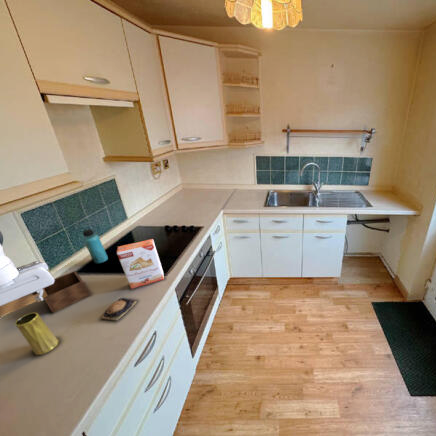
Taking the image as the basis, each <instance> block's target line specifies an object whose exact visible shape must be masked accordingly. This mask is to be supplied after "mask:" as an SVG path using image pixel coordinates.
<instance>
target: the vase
mask: <svg viewBox="0 0 436 436" xmlns="http://www.w3.org/2000/svg"><path fill="white" fill-rule="evenodd" d="M14 325H15V327H16V328H17V329H18V330H19V332H20V333H21V335H22V336H23V337H24V339H25V340H26V342H27V344H28V345H29V346H30V348H31V349H32V351H33V352H34V355H36V356H40V355H41V356H42V355H45V354H47V353H49V352H51V351H52V350H53V349H55V348H56V347H57V346H58V344H59V339H58V338H57V337H56V335H55V334H54V333H53V332H52V331H51V330H50V328H49V327H48V326H47V325H46V323H45V322H44V320H43V319H42V317H41V316H40V314H39V313H38V312H29V313H26V314H24V315H22V316H20V317H19V318H18V319H17V320H16V321H15V322H14Z"/></svg>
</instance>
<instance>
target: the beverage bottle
mask: <svg viewBox="0 0 436 436" xmlns="http://www.w3.org/2000/svg"><path fill="white" fill-rule="evenodd" d="M82 234H83V236H84V239H83V242H84V244H85V247H86V250H87V251H88V253H89V254H90V257H91V260H92V261H93V263H94V264H102V263H104V262H106V261H108V260H109V257H108V254H107V252H106V250H105V247H104V246H103V244H102V241H101V239H100V236H99V235H98V234H95V232H94V230H93V229H87V230H84V231H83V232H82Z"/></svg>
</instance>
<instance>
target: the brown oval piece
mask: <svg viewBox="0 0 436 436" xmlns="http://www.w3.org/2000/svg"><path fill="white" fill-rule="evenodd" d="M136 303H137V301H136V300H135V299H134V300H132V299H131V298H129V299H128V298H124V297H121V298H119V299H118V300H117V301H115V302H113V303H111V304H110V305H109V307H108V308H107V309H106V310H105V311H104V313H103V314H102V316H101V319H102V320H108V321H114V322H115V321H117V322H118V320H120V319H121V318H122V317H123V316H124V315H126V314H127V313H128V312H129V311H130V309H132V308H133V306H134V305H136Z"/></svg>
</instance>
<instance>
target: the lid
mask: <svg viewBox="0 0 436 436" xmlns="http://www.w3.org/2000/svg"><path fill="white" fill-rule="evenodd" d="M42 289H43V294H42V297H43V299H44V298H45V297H47V296H48V295H47V293H46V291H45V289H44V288H42ZM37 295H38V293H37V292H36V291H35V292H33V293H30V294H28V295H26V296H23V297H21V298H19V299H16V300H14V301H11V302H9V303H7V304H4V305H2V306H0V316H1V317H4V316H6V315H8V314H10V313H12V312H15V311H17V310H20V309H22V308H24V307H27V306H29V305H31V304H33V303H36V302H37V301H36V299H35V296H37Z"/></svg>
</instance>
